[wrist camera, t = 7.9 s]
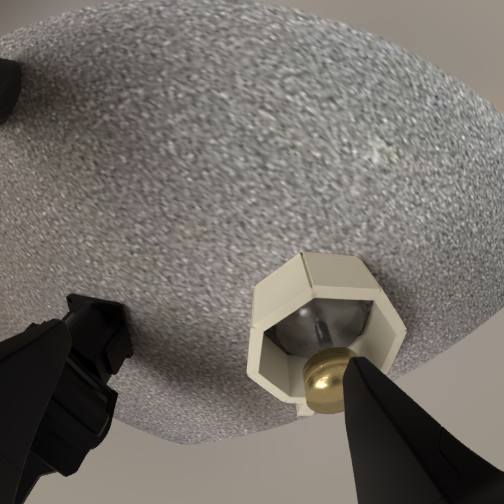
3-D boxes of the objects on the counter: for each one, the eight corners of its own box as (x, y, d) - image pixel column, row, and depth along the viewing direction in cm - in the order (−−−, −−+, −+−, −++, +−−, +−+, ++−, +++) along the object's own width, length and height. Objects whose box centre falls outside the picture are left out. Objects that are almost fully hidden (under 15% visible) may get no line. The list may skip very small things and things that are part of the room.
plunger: (270, 350, 23) (271, 426, 15) (281, 278, 20) (288, 352, 13) (348, 352, 23) (370, 422, 15) (370, 284, 20) (411, 351, 13)
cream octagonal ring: (245, 377, 25) (242, 417, 20) (257, 247, 20) (254, 280, 15) (352, 379, 25) (362, 416, 20) (394, 259, 20) (422, 290, 15)
